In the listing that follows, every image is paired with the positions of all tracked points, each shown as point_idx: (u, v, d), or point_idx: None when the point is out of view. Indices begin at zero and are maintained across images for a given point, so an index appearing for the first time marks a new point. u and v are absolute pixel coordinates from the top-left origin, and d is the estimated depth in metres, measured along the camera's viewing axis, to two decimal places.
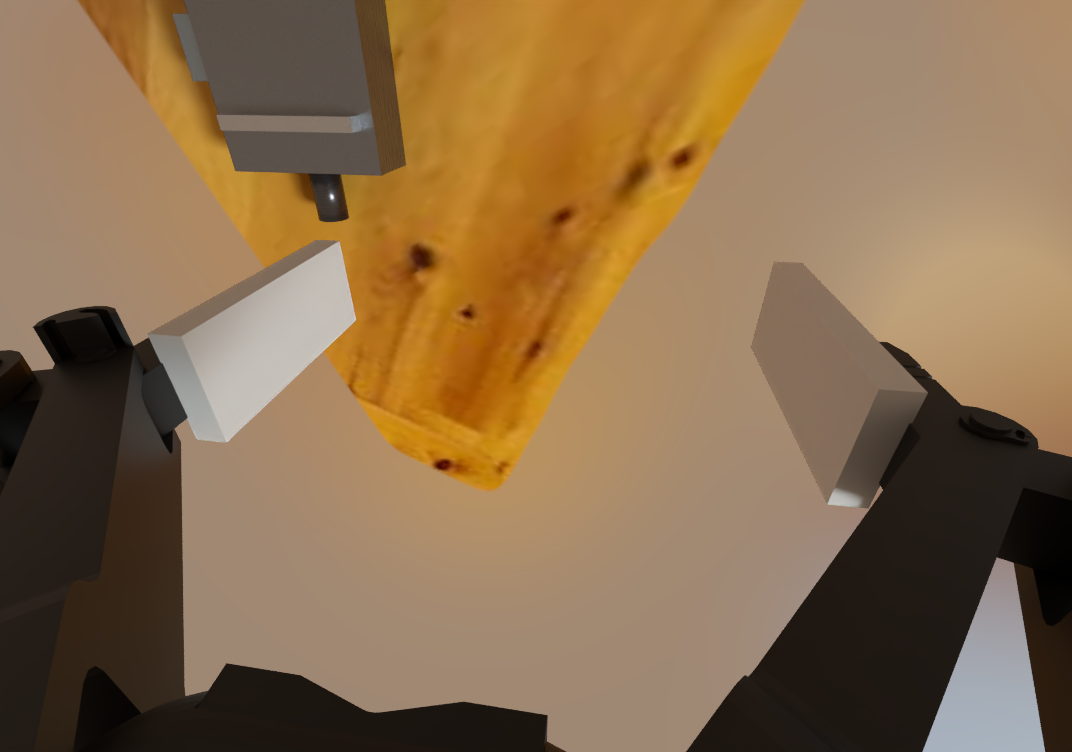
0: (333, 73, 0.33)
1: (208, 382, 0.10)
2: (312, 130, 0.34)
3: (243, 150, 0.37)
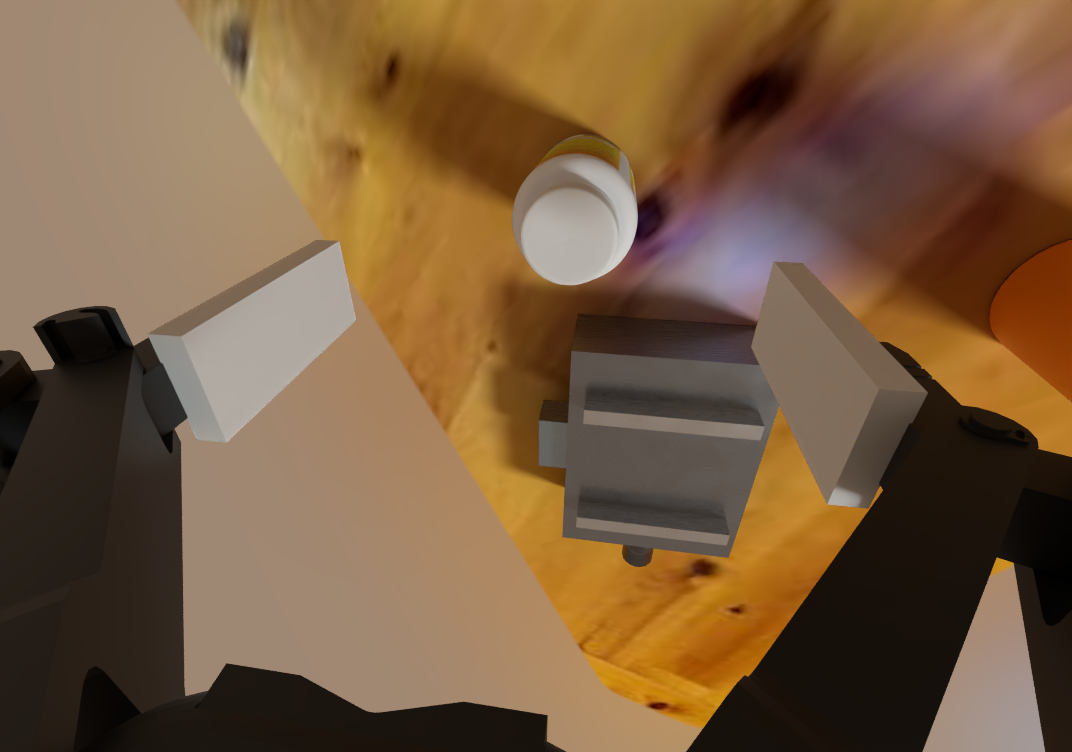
0: (713, 488, 0.32)
1: (208, 382, 0.10)
2: (681, 538, 0.33)
3: None
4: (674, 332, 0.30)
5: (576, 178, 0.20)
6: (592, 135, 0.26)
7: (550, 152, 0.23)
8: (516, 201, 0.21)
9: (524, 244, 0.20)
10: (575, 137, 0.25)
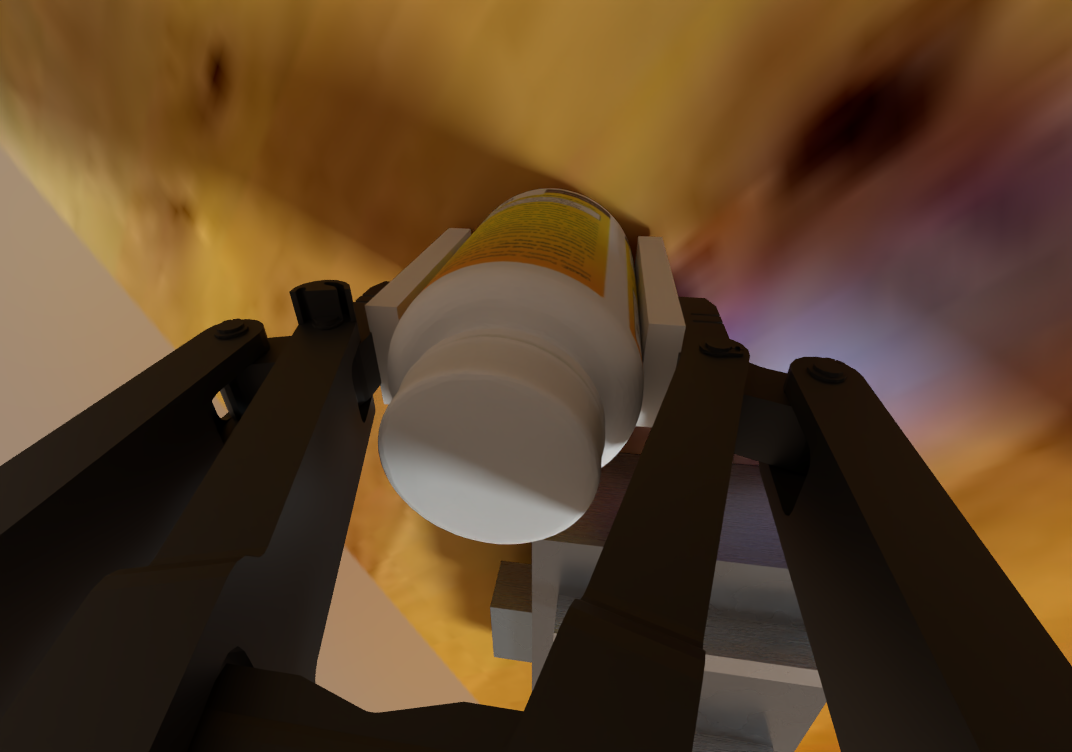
0: (755, 713, 0.21)
1: None
2: None
3: None
4: None
5: (508, 320, 0.09)
6: (561, 191, 0.15)
7: (477, 232, 0.12)
8: (390, 353, 0.10)
9: (390, 471, 0.09)
10: (530, 197, 0.14)
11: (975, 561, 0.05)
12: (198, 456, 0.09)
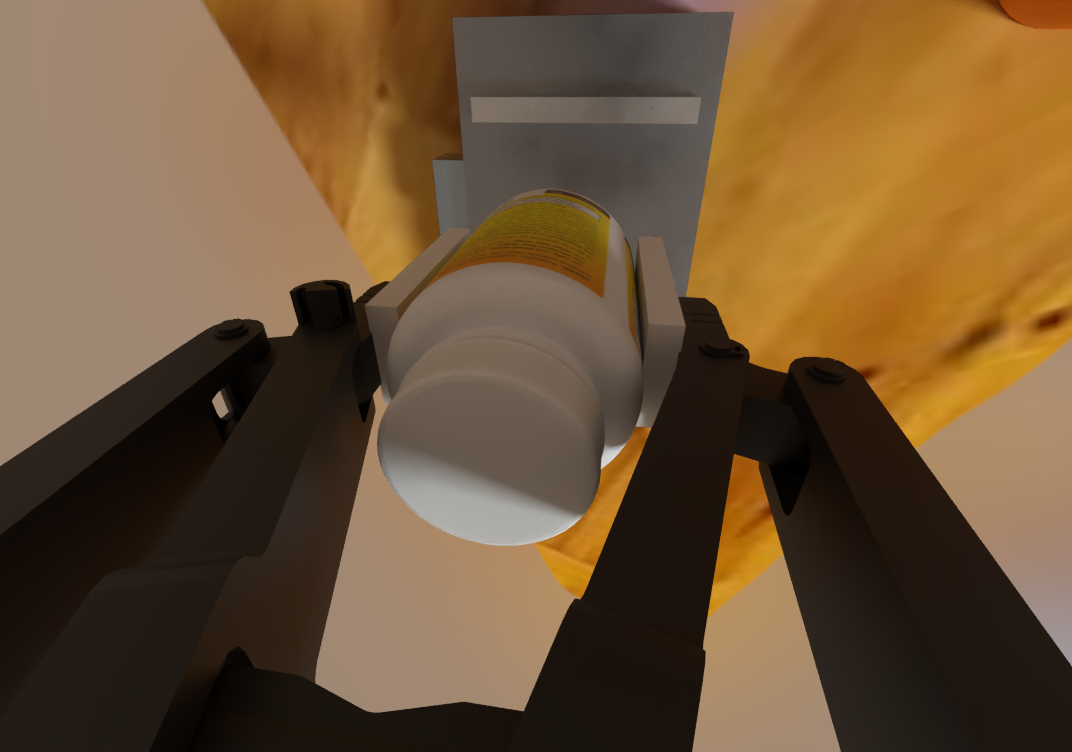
0: None
1: None
2: None
3: None
4: None
5: (508, 321, 0.09)
6: (561, 192, 0.15)
7: (477, 233, 0.12)
8: (389, 354, 0.10)
9: (389, 472, 0.09)
10: (530, 197, 0.14)
11: (975, 561, 0.05)
12: (198, 456, 0.09)
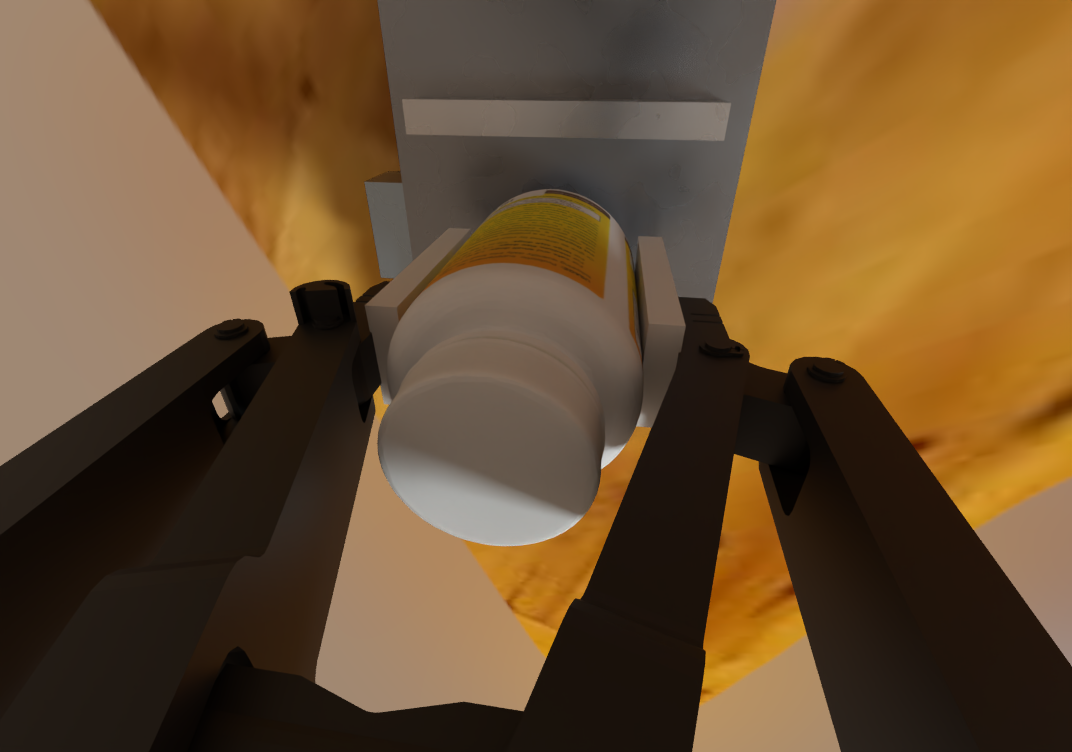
0: None
1: None
2: None
3: None
4: None
5: (508, 322, 0.09)
6: (561, 192, 0.15)
7: (477, 233, 0.12)
8: (389, 354, 0.10)
9: (389, 473, 0.09)
10: (530, 197, 0.14)
11: (975, 561, 0.05)
12: (198, 456, 0.09)
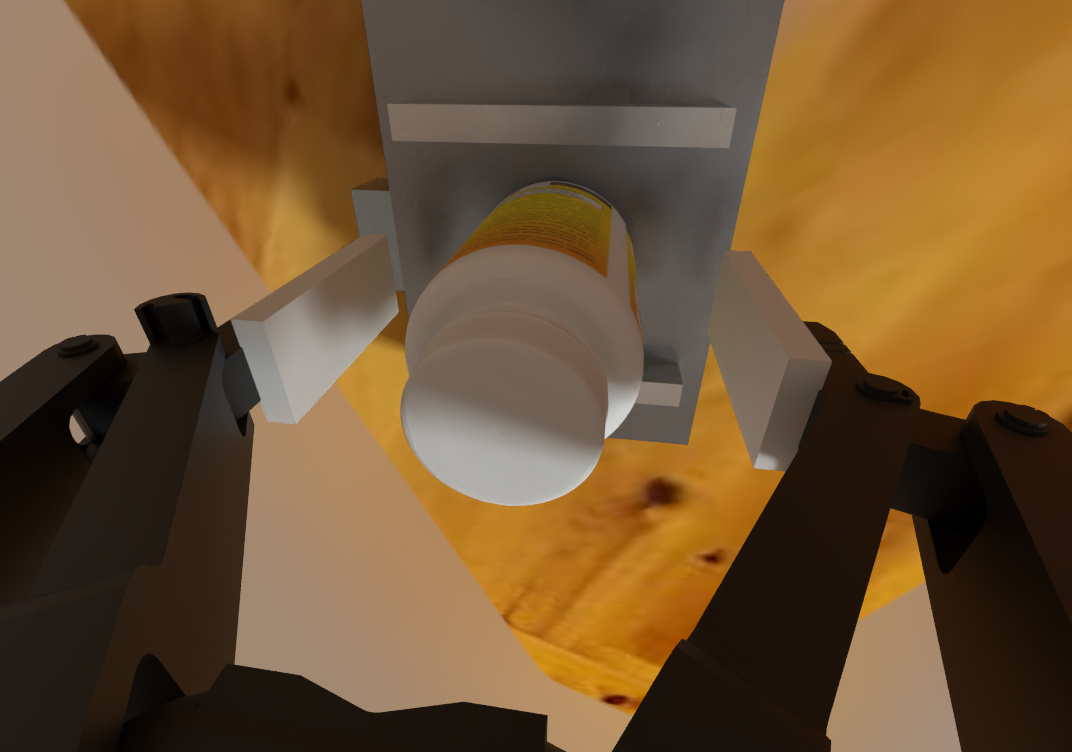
0: (653, 303, 0.18)
1: (283, 366, 0.11)
2: None
3: None
4: None
5: (519, 298, 0.10)
6: (565, 184, 0.15)
7: (487, 221, 0.13)
8: (408, 331, 0.11)
9: (410, 436, 0.10)
10: (536, 189, 0.15)
11: None
12: (63, 478, 0.08)
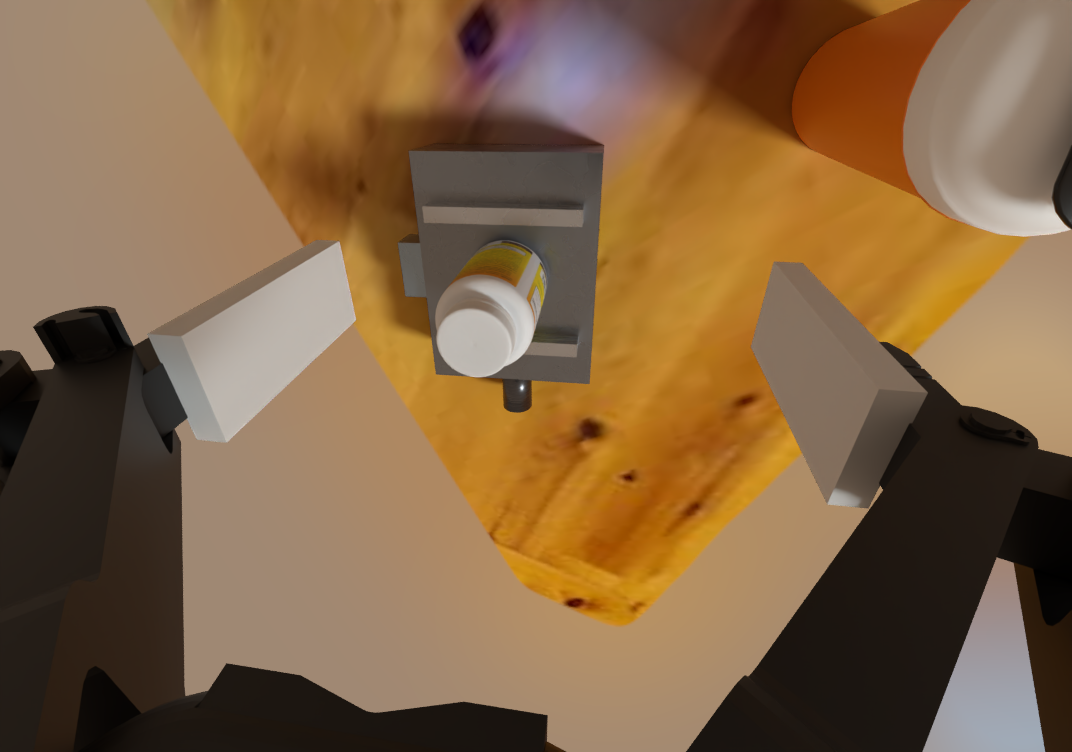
0: (560, 301, 0.34)
1: (208, 382, 0.10)
2: (535, 353, 0.34)
3: None
4: (514, 146, 0.32)
5: (481, 295, 0.25)
6: (509, 242, 0.31)
7: (470, 262, 0.29)
8: (437, 309, 0.26)
9: (440, 347, 0.25)
10: (494, 245, 0.31)
11: None
12: None
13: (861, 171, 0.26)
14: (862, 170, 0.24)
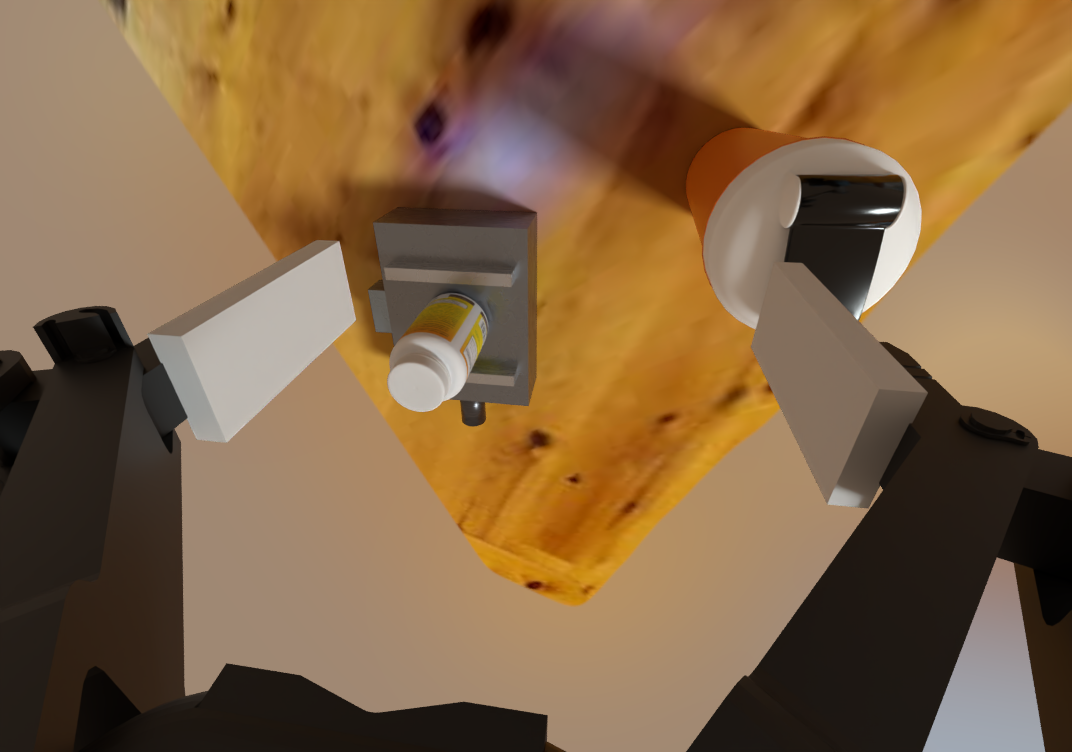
0: (501, 340, 0.41)
1: (208, 382, 0.10)
2: (480, 382, 0.42)
3: None
4: (461, 214, 0.39)
5: (422, 349, 0.33)
6: (455, 295, 0.39)
7: (420, 316, 0.36)
8: (390, 357, 0.34)
9: (390, 389, 0.33)
10: (442, 299, 0.38)
11: None
12: None
13: None
14: None
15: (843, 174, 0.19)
